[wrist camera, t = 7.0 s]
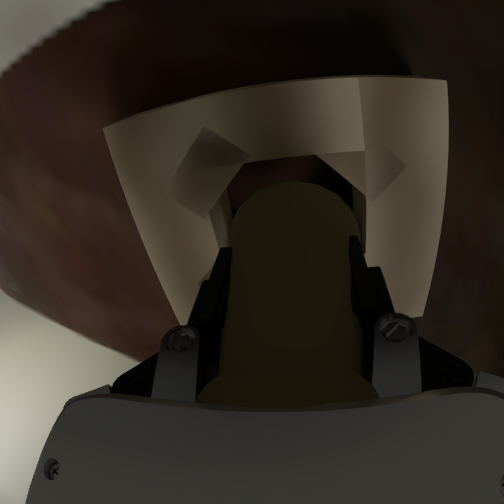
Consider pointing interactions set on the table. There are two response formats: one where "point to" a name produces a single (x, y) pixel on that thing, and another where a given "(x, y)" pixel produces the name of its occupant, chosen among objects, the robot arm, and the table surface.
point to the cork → (290, 304)
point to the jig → (290, 145)
